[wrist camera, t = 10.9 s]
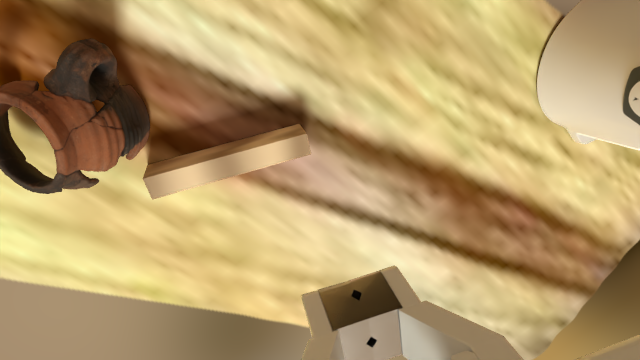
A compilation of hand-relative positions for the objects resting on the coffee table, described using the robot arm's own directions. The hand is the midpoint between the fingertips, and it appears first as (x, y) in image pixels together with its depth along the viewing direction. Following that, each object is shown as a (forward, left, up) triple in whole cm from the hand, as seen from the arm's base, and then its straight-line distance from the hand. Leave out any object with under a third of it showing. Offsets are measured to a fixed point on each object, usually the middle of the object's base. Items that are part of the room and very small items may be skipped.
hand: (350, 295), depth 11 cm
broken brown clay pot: (+13, -3, -26) cm, 29 cm away
